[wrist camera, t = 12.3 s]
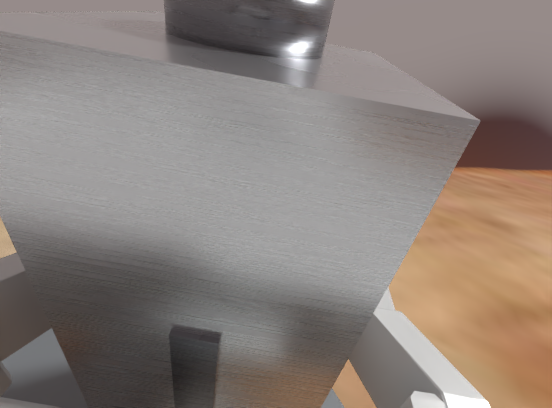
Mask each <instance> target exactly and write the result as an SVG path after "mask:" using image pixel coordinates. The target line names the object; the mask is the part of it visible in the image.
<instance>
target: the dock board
mask: <svg viewBox="0 0 552 408" xmlns="http://www.w3.org/2000/svg"><path fill="white" fill-rule="evenodd" d="M1 362H2V363H3V365H4V366H5V367H6V369H7V370H8V372H9V373H10V374H11V376H12V383H11V384H10V386H9V387H8V388H7V390H6V391H5V392H4V393H3V395H2V396H1V397H3V398H9V399H15V400H21V401H27V402H33V403H39V404H44V405H50V406H56V407H62V408H88V406H87V404H86V402H85V399H84V397H83V395H82V393H81V391H80V389H79V386H78V384H77V382H76V380H75V378H74V375H73V373H72V371H71V369H70V367H69V365H68V362H67V360H66V358H65V356H64V354H63V351H62V349H61V347H60V345H59V343H58V341H57V338H56V336H55V334H54V332H53V330H52V328H51V329H49V330H48V331H46V332H45V333H43V334H42V335H40V336H39V337H37V338H36V339H34V340H33V341H31V342H30V343H28V344H27V345H25V346H24V347H22V348H21V349H19V350H18V351H16V352H15V353H13V354H12V355H10V356H9V357H7V358H6V359H4V360H3V361H1ZM321 408H344V406H343V405H342V403H341V402H340V400H339V398H338V397H337V395H336V394H335V392H334V391H333V389H332V388H331V390H330V392H329V394H328V396H327V397H326V399H325V401H324V403H323V405H322V406H321Z"/></svg>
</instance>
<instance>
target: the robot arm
mask: <svg viewBox="0 0 552 408" xmlns="http://www.w3.org/2000/svg"><path fill="white" fill-rule="evenodd" d="M49 329H51V325H50V323H49V321H48V319H47V317H46V314H45V312H44V310H43V308H42V306H41V304H40V301H39V299H38V297H37V295H36V293H35V290H34V288H33V286H32V284H31V282H30V280H29V277H28V275H27V273H26V271H25V269H24V266H23V264H22V262H21V260H20V258H19V256H18V253H14V254H12V255H9V256H6V257H3V258H1V259H0V408H62V407H56V406H50V405H44V404H39V403H33V402H27V401H21V400H15V399H9V398H3V397H1V396H2V395H3V393H4V392H5V391H6V390H7V388H8V387H9V386H10V384H11V383H12V376H11V374H10V373H9V372H8V370H7V369H6V367H5V366H4V365H3V363H2V362H1V361H3V360H4V359H6V358H7V357H9V356H10V355H12V354H13V353H15V352H16V351H18V350H19V349H21V348H22V347H24V346H25V345H27V344H28V343H30V342H31V341H33V340H34V339H36V338H37V337H39V336H40V335H42V334H43V333H45V332H46V331H48V330H49ZM348 359H349V360H350V362H351V364H352V366H353V367H354V369H355V371H356V372H357V374H358V376H359V378H360V379H361V381H362V383H363V385H364V386H365V388H366V390H367V391H368V393H369V395H370V397H371V398H372V400H373V402H374V403H375V405H376V407H377V408H490V405H489V403H488V402H487V400H486V399H485V398H484V397H483V396H482V395H481V394H480V393H479V392H478V391H477V390H476V389H475V388H474V387H473V386H472V385H471V384H470V383H469V382H468V381H467V380H466V379H465V378H464V377H463V376H462V374H461V373H460V372H459V371H458V370H457V369H456V368H455V367H454V366H453V365H452V364H451V363H450V362H449V361H448V360H447V359H446V358H445V357H444V356H443V355H442V354H441V353H440V352H439V351H438V349H437V348H436V347H435V346H434V345H433V344H432V343H431V342H430V341H429V340H428V339H427V338H426V337H425V336H424V335H423V334H422V333H421V332H420V331H419V330H418V329H417V328H416V327H415V326H414V325H413V323H412V322H411V321H410V320H409V319H408V318H407V317H406V316H405V315H404V314H403V313H402V312H400V311H395V307H394V304H393V301H392V298H391V294H390V291H389V288H387V290H386V291H385V293H384V295H383V297H382V299H381V300H380V302H379V304H378V306H377V308H376V309H375V311H374V313H373V315H372V317H371V318H370V320H369V322H368V324H367V326H366V327H365V329H364V331H363V333H362V335H361V336H360V338H359V340H358V342H357V344H356V345H355V347H354V349H353V351H352V352H351V354H350V356H349V358H348Z"/></svg>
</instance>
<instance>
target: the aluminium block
mask: <svg viewBox="0 0 552 408" xmlns="http://www.w3.org/2000/svg"><path fill="white" fill-rule="evenodd" d="M334 1H335V0H164V9H165V13H163V12H158V11H143V12H142V11H141V12H140V11H137V12H135V11H134V12H13V13H11V12H8V13H6V12H5V13H0V216H1V219H2V221H3V223H4V225H5V227H6V229H7V232H8V234H9V236H10V238H11V240H12V242H13V245H14V247H15V249H16V251H17V253H18V256H19V258H20V260H21V262H22V264H23V266H24V269H25V271H26V273H27V275H28V277H29V280H30V282H31V284H32V286H33V288H34V290H35V293H36V295H37V297H38V299H39V301H40V304H41V306H42V308H43V310H44V312H45V314H46V317H47V319H48V321H49V323H50V325H51V328H52V330H53V332H54V334H55V336H56V338H57V341H58V343H59V345H60V347H61V349H62V351H63V354H64V356H65V358H66V360H67V362H68V365H69V367H70V369H71V371H72V373H73V375H74V378H75V380H76V382H77V384H78V386H79V389H80V391H81V393H82V395H83V397H84V399H85V402H86V404H87V406H88V408H321V406H322V405H323V403H324V401H325V399H326V397H327V396H328V394H329V392H330V390H331V388H332V387H333V385H334V383H335V381H336V379H337V378H338V376H339V374H340V372H341V370H342V369H343V367H344V365H345V363H346V361H347V360H348V358H349V356H350V354H351V352H352V351H353V349H354V347H355V345H356V344H357V342H358V340H359V338H360V336H361V335H362V333H363V331H364V329H365V327H366V326H367V324H368V322H369V320H370V318H371V317H372V315H373V313H374V311H375V309H376V308H377V306H378V304H379V302H380V300H381V299H382V297H383V295H384V293H385V291H386V290H387V288H388V286H389V284H390V282H391V281H392V279H393V277H394V275H395V273H396V272H397V270H398V268H399V266H400V265H401V263H402V261H403V259H404V257H405V256H406V254H407V252H408V250H409V248H410V247H411V245H412V243H413V241H414V239H415V238H416V236H417V234H418V232H419V230H420V229H421V227H422V225H423V223H424V221H425V220H426V218H427V216H428V214H429V212H430V211H431V209H432V207H433V205H434V203H435V202H436V200H437V198H438V196H439V194H440V193H441V191H442V189H443V187H444V186H445V184H446V182H447V180H448V178H449V177H450V175H451V173H452V171H453V169H454V168H455V166H456V164H457V162H458V160H459V158H460V157H461V155H462V153H463V151H464V150H465V148H466V146H467V144H468V142H469V141H470V139H471V137H472V135H473V133H474V132H475V130H476V128H477V126H478V124H479V123H480V120H479V119H477V118H475V117H474V116H472V115H471V114H469V113H467V112H466V111H464V110H463V109H461V108H460V107H458V106H457V105H455V104H453V103H452V102H450V101H449V100H447V99H446V98H444V97H442V96H441V95H439V94H438V93H436V92H435V91H433V90H431V89H430V88H428V87H427V86H425V85H424V84H422V83H420V82H419V81H417V80H416V79H414V78H413V77H411V76H410V75H408V74H406V73H405V72H403V71H402V70H400V69H399V68H397V67H396V66H394V65H392V64H391V63H389V62H388V61H386V60H385V59H383V58H381V57H380V56H378V55H377V54H375V53H373V52H369V51H364V50H358V49H353V48H347V47H342V46H337V45H331V44H327V43H325V41H326V37H327V32H328V28H329V23H330V19H331V14H332V10H333V5H334Z"/></svg>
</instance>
